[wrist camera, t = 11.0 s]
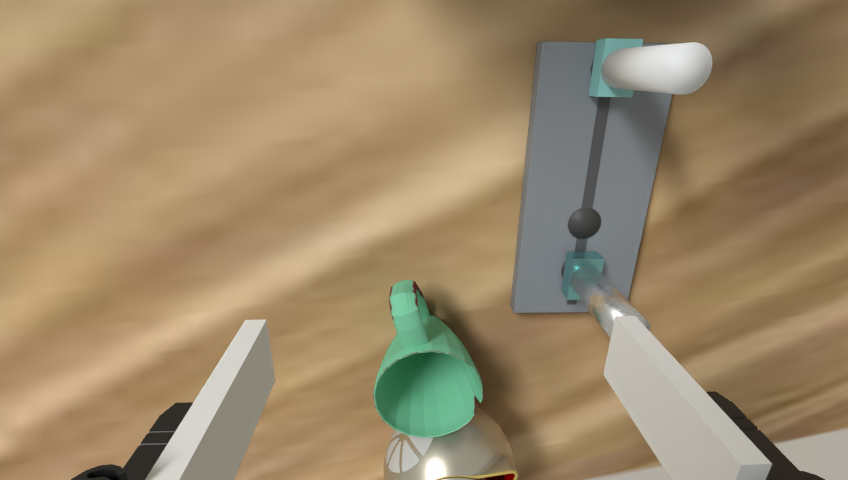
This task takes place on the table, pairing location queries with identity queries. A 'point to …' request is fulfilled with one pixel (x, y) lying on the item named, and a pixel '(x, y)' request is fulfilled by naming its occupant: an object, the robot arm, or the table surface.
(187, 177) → the table surface
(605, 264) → the grey and teal piece
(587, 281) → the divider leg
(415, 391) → the mug
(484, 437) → the teapot
